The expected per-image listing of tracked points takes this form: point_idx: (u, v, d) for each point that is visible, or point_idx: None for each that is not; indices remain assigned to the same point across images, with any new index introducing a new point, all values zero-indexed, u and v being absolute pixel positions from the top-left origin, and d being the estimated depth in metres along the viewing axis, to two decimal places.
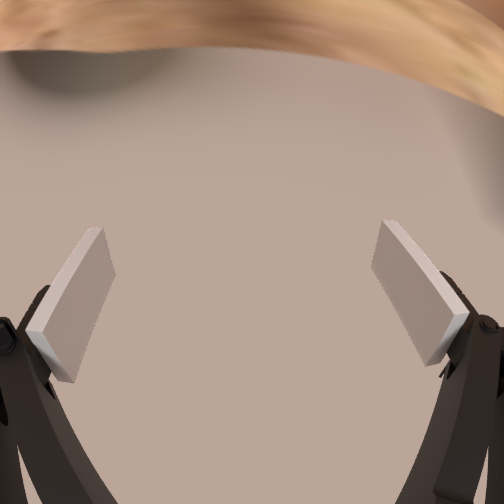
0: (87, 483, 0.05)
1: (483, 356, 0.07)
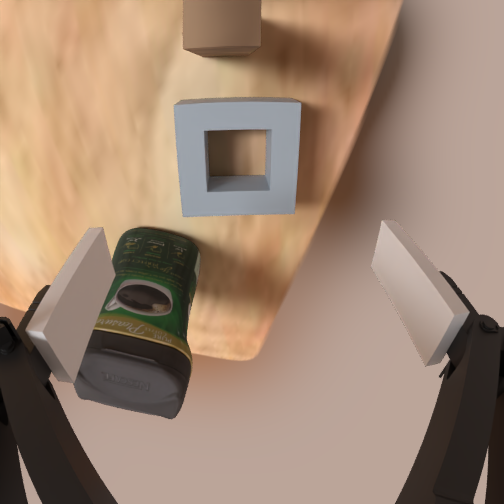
0: (87, 483, 0.05)
1: (483, 356, 0.07)
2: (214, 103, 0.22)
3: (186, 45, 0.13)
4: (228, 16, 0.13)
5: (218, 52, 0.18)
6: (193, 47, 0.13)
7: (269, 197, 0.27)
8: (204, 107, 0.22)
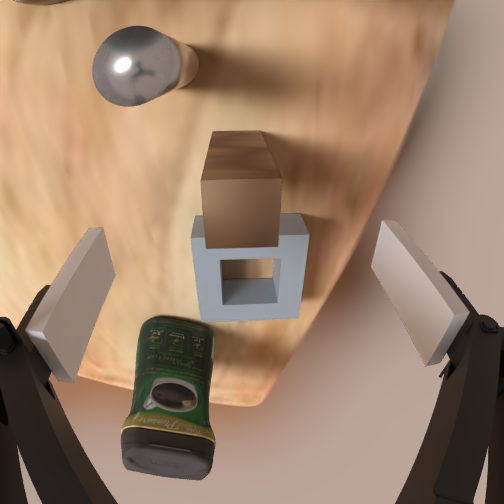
0: (87, 483, 0.05)
1: (483, 356, 0.07)
2: None
3: (208, 246, 0.17)
4: (248, 219, 0.16)
5: None
6: (215, 247, 0.17)
7: (277, 307, 0.31)
8: None
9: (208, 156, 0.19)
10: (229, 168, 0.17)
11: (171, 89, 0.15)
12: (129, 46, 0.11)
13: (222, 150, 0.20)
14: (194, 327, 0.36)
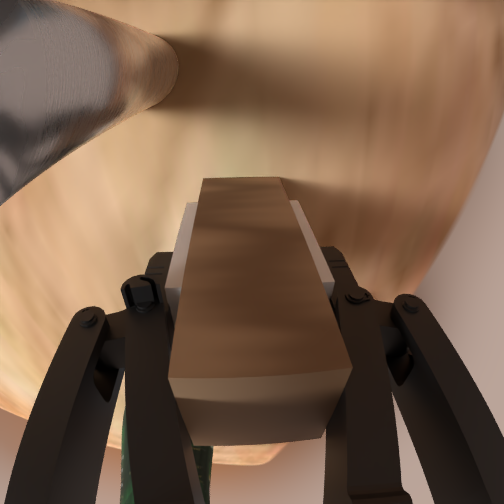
0: (188, 465, 0.06)
1: (358, 332, 0.08)
2: None
3: (198, 443, 0.08)
4: (272, 420, 0.07)
5: None
6: None
7: None
8: None
9: (189, 263, 0.10)
10: (232, 321, 0.08)
11: (98, 132, 0.07)
12: None
13: (216, 240, 0.11)
14: None
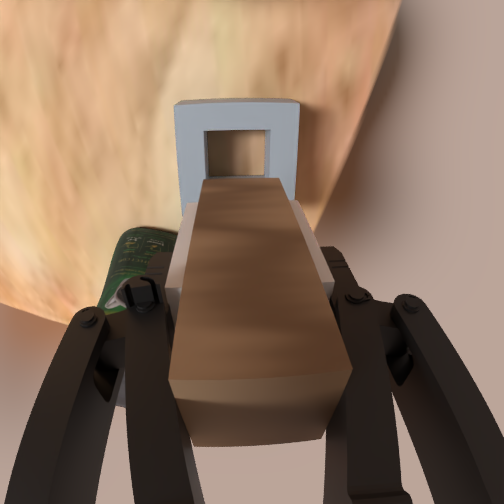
0: (188, 465, 0.06)
1: (358, 332, 0.08)
2: (213, 103, 0.23)
3: (199, 444, 0.08)
4: (272, 422, 0.07)
5: None
6: None
7: None
8: (204, 107, 0.23)
9: (189, 264, 0.10)
10: (232, 322, 0.08)
11: None
12: None
13: (216, 242, 0.11)
14: (176, 237, 0.32)
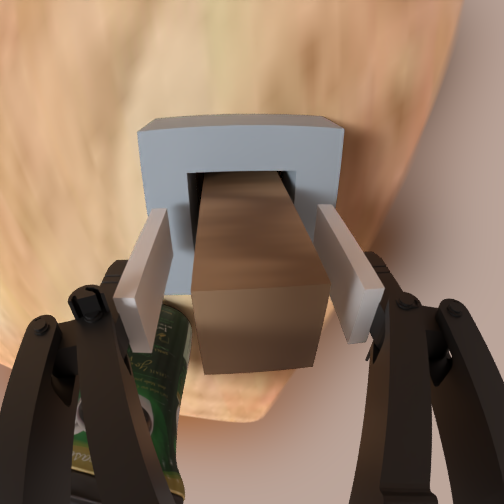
0: (150, 468, 0.05)
1: (406, 336, 0.08)
2: (203, 128, 0.14)
3: (208, 371, 0.11)
4: (271, 340, 0.10)
5: None
6: None
7: None
8: (186, 134, 0.14)
9: (201, 220, 0.12)
10: (237, 255, 0.10)
11: None
12: None
13: (221, 205, 0.13)
14: None
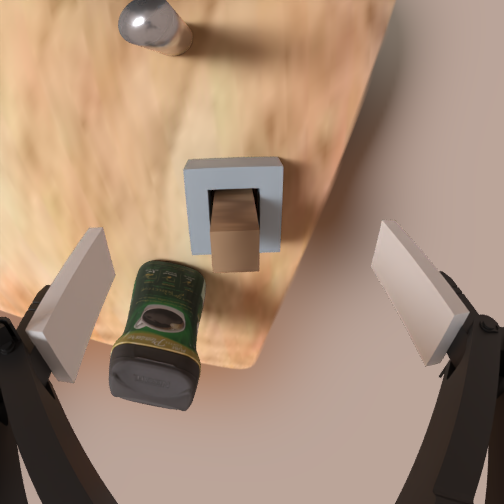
0: (87, 483, 0.05)
1: (483, 356, 0.07)
2: (215, 168, 0.30)
3: (215, 271, 0.27)
4: (239, 254, 0.26)
5: None
6: (219, 271, 0.27)
7: None
8: (207, 171, 0.31)
9: (213, 210, 0.29)
10: (227, 221, 0.27)
11: (170, 42, 0.20)
12: (144, 7, 0.16)
13: (222, 204, 0.30)
14: (186, 269, 0.40)
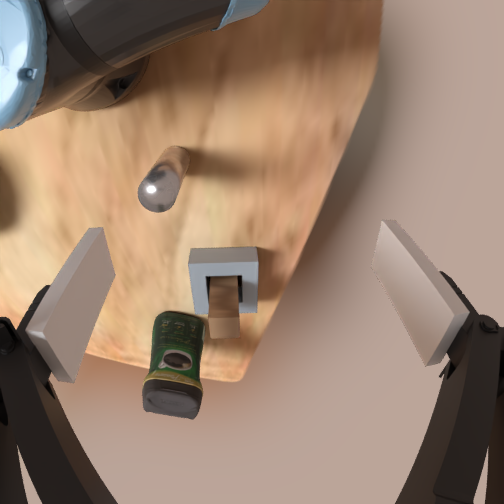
0: (87, 483, 0.05)
1: (483, 356, 0.07)
2: (210, 263, 0.45)
3: (211, 337, 0.42)
4: (227, 329, 0.41)
5: None
6: None
7: (242, 305, 0.49)
8: (205, 265, 0.45)
9: (210, 296, 0.43)
10: (219, 308, 0.41)
11: None
12: (155, 185, 0.29)
13: (216, 290, 0.44)
14: (191, 318, 0.54)
